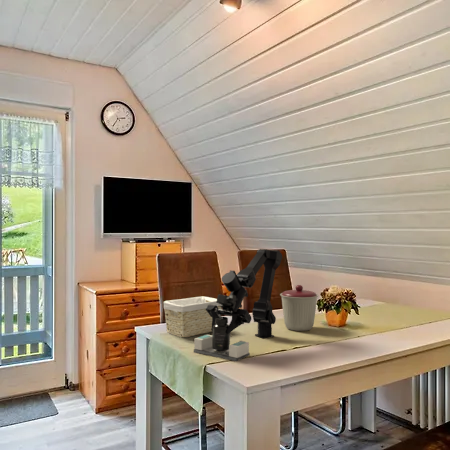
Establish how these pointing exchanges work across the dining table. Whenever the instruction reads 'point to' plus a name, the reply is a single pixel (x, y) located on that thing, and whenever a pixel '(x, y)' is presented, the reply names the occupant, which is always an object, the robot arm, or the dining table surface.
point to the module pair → (234, 349)
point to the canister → (299, 308)
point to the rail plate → (219, 354)
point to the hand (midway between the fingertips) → (219, 332)
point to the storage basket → (189, 316)
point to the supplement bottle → (220, 334)
